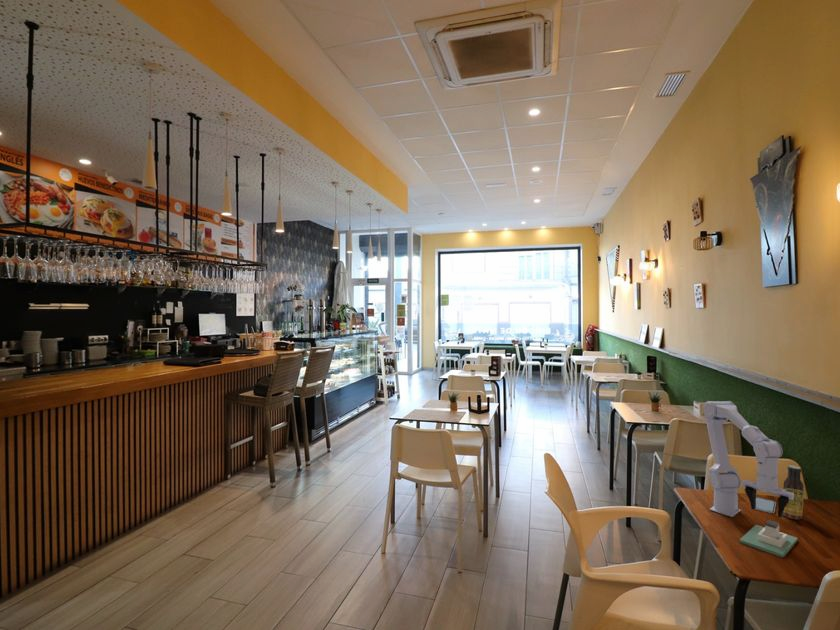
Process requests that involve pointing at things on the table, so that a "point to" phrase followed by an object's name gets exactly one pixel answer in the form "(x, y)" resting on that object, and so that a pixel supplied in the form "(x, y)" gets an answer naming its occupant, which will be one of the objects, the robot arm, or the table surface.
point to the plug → (772, 529)
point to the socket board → (768, 541)
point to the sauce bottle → (796, 487)
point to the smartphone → (765, 505)
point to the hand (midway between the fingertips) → (766, 512)
